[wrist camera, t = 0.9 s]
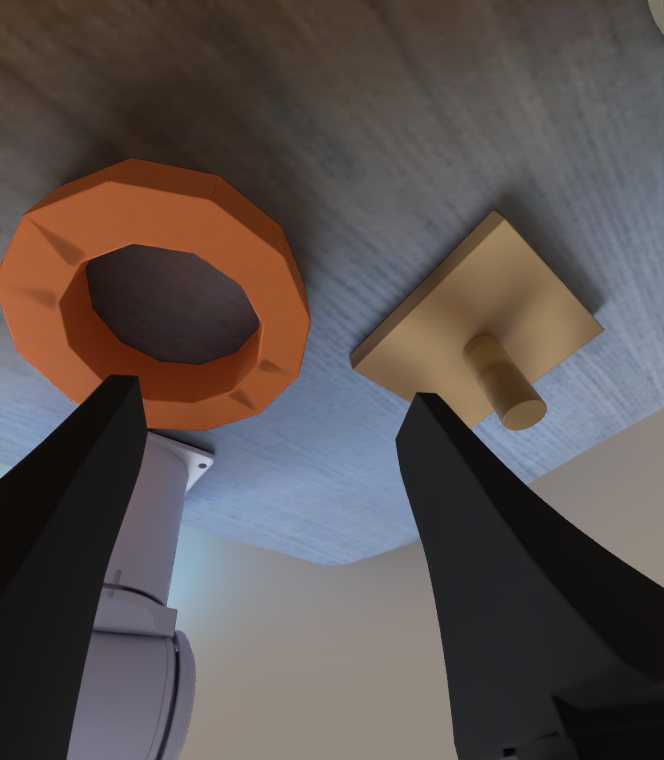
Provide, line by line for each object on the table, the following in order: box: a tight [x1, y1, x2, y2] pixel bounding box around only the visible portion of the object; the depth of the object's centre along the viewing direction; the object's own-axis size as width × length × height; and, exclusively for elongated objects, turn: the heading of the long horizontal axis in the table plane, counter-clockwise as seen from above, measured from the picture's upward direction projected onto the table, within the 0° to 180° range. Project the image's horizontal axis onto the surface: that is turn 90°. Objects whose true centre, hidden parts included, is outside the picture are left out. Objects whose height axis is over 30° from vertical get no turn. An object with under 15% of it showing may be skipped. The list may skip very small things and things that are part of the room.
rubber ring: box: [0, 158, 311, 431], centre depth 18 cm, size 12×12×3 cm
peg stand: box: [349, 210, 604, 431], centre depth 20 cm, size 10×10×6 cm
